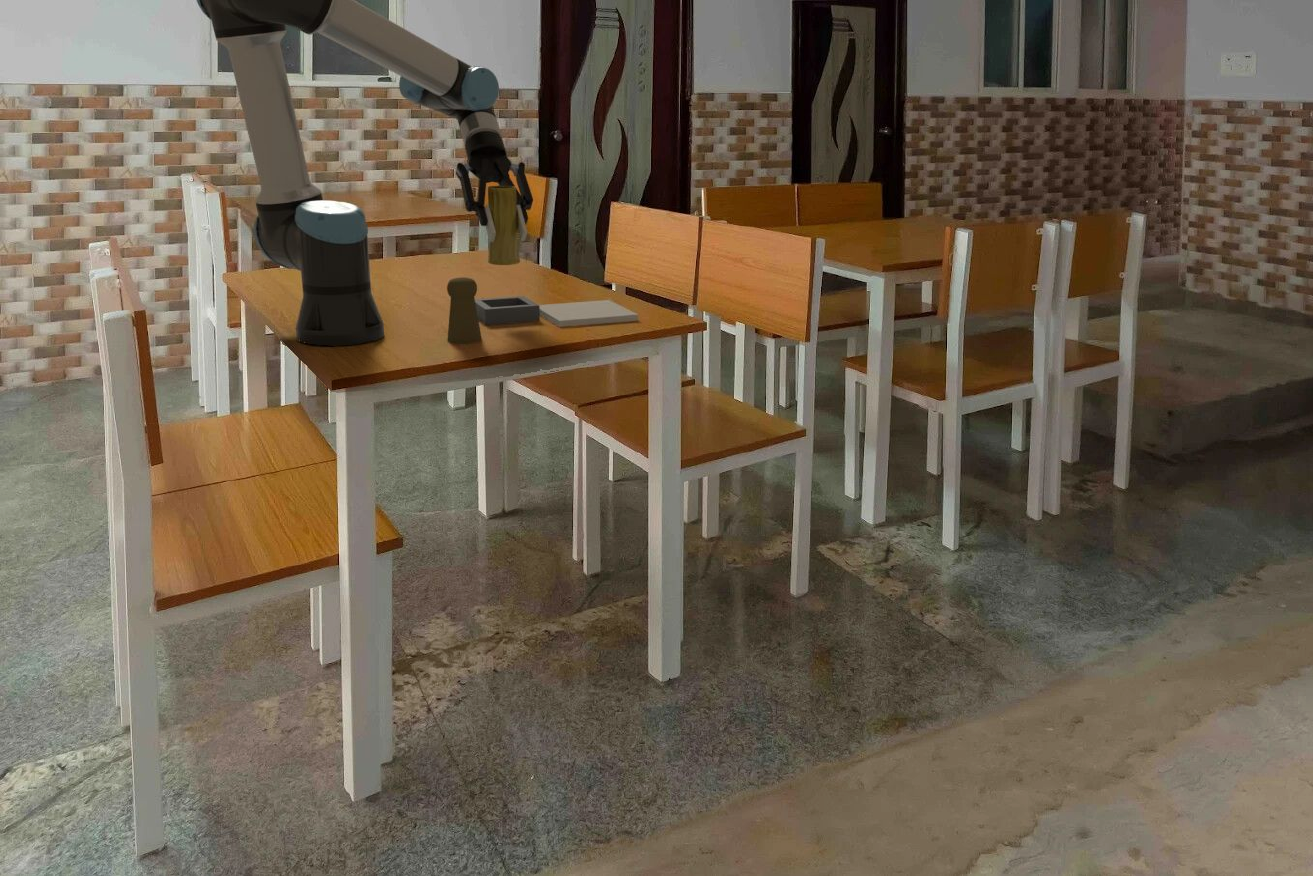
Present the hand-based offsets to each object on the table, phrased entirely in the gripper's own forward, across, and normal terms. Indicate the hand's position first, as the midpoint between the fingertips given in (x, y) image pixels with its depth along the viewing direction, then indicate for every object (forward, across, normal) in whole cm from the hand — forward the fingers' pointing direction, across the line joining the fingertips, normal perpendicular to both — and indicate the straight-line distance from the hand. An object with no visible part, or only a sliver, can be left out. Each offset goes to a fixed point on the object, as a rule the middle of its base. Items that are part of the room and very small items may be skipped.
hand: (508, 236), depth 208 cm
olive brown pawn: (+20, +12, -3) cm, 24 cm away
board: (+11, -15, -11) cm, 22 cm away
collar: (+9, 0, -14) cm, 16 cm away
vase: (+1, 0, -6) cm, 7 cm away
